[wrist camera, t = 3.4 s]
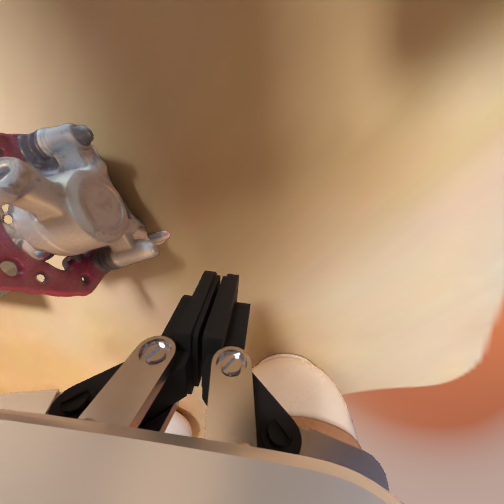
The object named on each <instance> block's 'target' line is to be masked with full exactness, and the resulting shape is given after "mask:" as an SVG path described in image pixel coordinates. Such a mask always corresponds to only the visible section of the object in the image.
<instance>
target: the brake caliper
mask: <svg viewBox="0 0 504 504" xmlns="http://www.w3.org/2000/svg"><path fill="white" fill-rule="evenodd" d="M93 136H94V135H93V133H92V131H91V130H90V129H89V128H87V127H86V126H84V125H75V124H71V123H68V124H63V125H61V126H58V127H47V128H42V129H39V130H37V131H35V132H33V133H30V134H4V133H0V264H1V263H2V262H4V261H9V262H12V263H14V264H15V266H16V267H17V274H16V275H15V276H9V275H7V274H5V273H4V272H3V271H2V269H1V268H0V291H2V290H4V291H12V292H24V293H28V294H45V295H51V296H58V297H70V296H86V295H88V294H90V293H91V292H93V291H94V290H95V288H96V287H97V285H98V284H99V283H100V281H101V280H102V278H103V277H104V275H106V274H107V273H108V272H109V271H111V270H115V269H119V268H121V267H124V266H126V265H129V264H132V263H136V262H139V261H142V260H145V259H149V258H153V257H155V256H157V255H158V254H159V248H158V246H157V245H160V244H162V243H164V242H165V240H167V239H168V238H169V237H170V234H169V233H168V232H167V231H164V230H163V231H159V232H156V233H152V234H149V235H147V230H146V227H145V225H144V224H143V222H141V221H140V220H139V219H137V218H136V217H135V216H134V215H133V214H132V213H131V211H130V210H129V209H128V207H127V205H126V204H125V202H124V201H123V199H122V198H121V196H120V194H119V192H118V191H117V190H116V189H115V188H114V186H113V185H112V182H111V180H110V178H109V175H108V172H107V165H106V163H105V162H104V161H103V160H102V159H101V158H100V156H99V155H98V153H97V151H96V149H95V147H94V146H93V145H92V144H91V141H92V140H93ZM5 204H9V207H8V211H7V212H4V211H3V210H2V207H1V206H3V205H5ZM5 215H10V216H11V217H12V219H13V221H12V223H11V224H7V223H5V222H4V220H3V219H4V216H5ZM54 255H61V256H67V257H65V258H64V260H63V262H62V265H63V267H64V269H65V270H60V269H57V268H55V267H53V266H52V265H50V264H49V263H47V262H44V261H46V260H48V259H50V258H52V257H53V256H54ZM39 274H42V275H44V277H45V279H44V281H43V282H40V281H39V280H38V279H37V275H39ZM82 277H83V278H84V281H83V280H82Z"/></svg>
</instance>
